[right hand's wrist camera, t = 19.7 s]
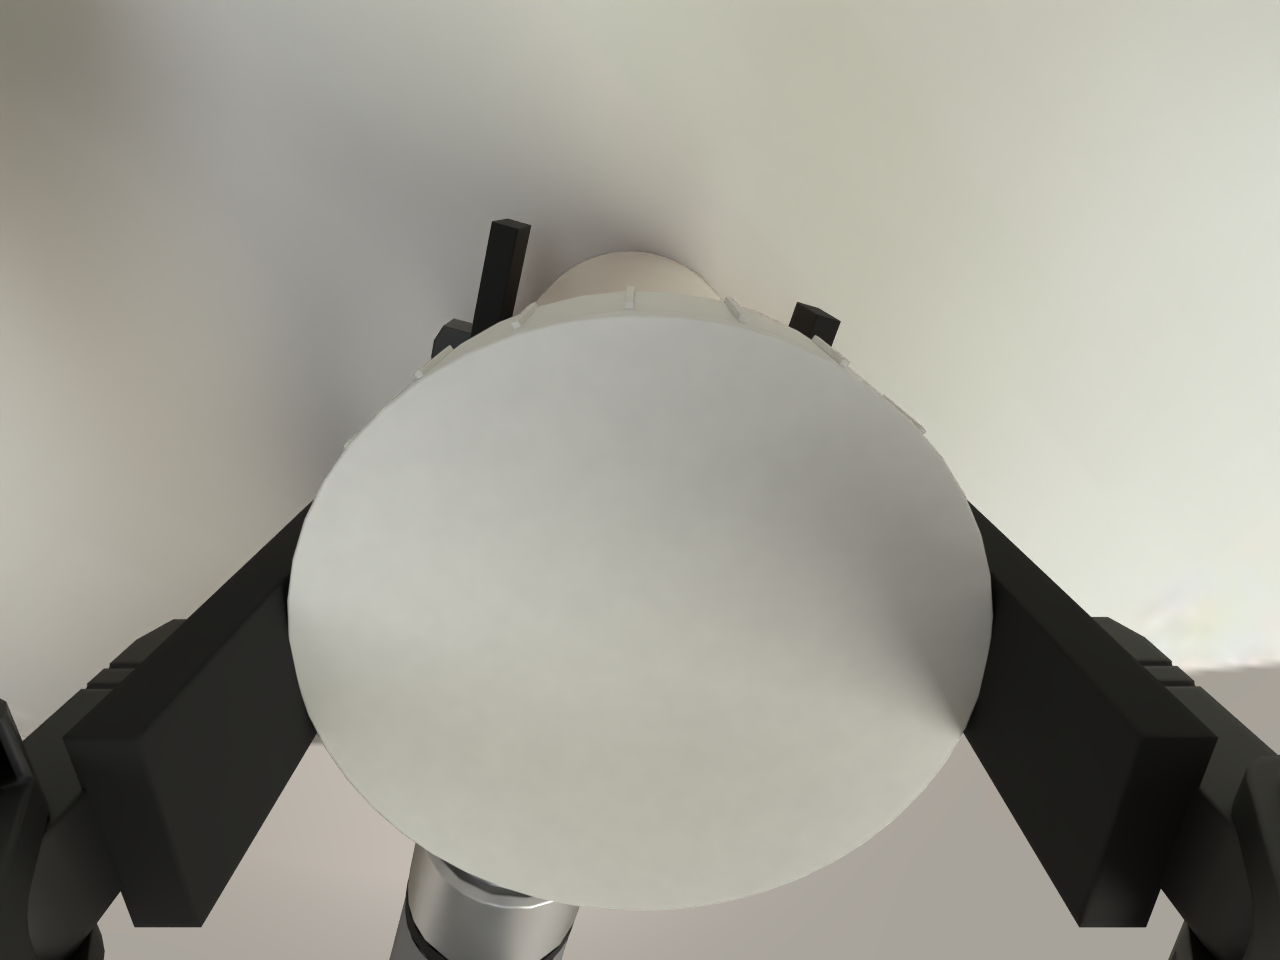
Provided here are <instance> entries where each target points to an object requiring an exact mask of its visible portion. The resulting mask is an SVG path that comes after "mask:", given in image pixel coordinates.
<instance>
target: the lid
mask: <svg viewBox="0 0 1280 960" xmlns="http://www.w3.org/2000/svg"><path fill="white" fill-rule="evenodd" d="M849 363H850V362H849V361H848V360H847V359H845V358H844V357H843V356H842V355H840V354H839V353H838V352H837V351H835V350H834V349H833V348H832V347H831V346H829V345H828V344H827V343H826V342H824V341H823V340H822V339H821V338H819V337H818V336H816V335H815V336H814V337H813V339H812V340H811V339H809V338H808V337H806V336H805V335H803V334H802V333H800V332H799V331H797V330H795V329H793V328H791V327H789V326H786V325H784V324H782V323H780V322H778V321H776V320H774V319H771V318H769V317H767V316H765V315H763V314H761V313H758V312H756V311H752V310H749V309H746V308H742V307H740V306H739V305H738V304H737V303H736V302H735V300H734V299H733V298H729V297H726V299H725V302H723V301H720V300H716V299H711V298H705V297H698V296H692V295H686V294H680V293H674V292H648V291H634V286H627V288H626V291H621V292H612V293H603V294H593V295H584V296H579V297H575V298H571V299H567V300H563V301H559V302H555V303H551V304H547V305H543V306H539V307H537V304H536V302H534V303H531V304H529V305H528V306H527V307H526V308H525V309H524V310H523V311H522V312H521V313H520V314H519V315H516V316H514V317H511V318H509V319H506V320H504V321H501V322H499V323H497V324H495V325H493V326H492V327H490V328H488V329H486V330H485V331H483V332H481V333H479V334H478V335H476V336H474V337H472V338H471V339H469V340H467V341H465V342H464V343H462V344H460V345H459V346H458V347H457V348H455V349H453V348H452V347H451V346H450V345H449V346H448V347H446V348H445V349H444V350H443V351H441V352H440V353H439V354H438V355H436V356H435V357H434V358H433V359H431V360H430V361H429V362H428V363H427V364H425V365H424V366H423V367H422V368H420V369H419V370H418V371H417V372H415V373H414V376H415V377H416V378H417V379H416V380H415V381H414V382H413V383H412V384H411V385H409V386H408V387H407V388H406V389H405V390H403V391H402V392H401V393H400V394H399V395H398V396H396V397H395V398H394V399H393V400H392V401H391V402H389V403H388V404H387V405H386V406H385V407H383V408H382V409H381V410H380V411H379V412H378V413H377V414H376V415H375V417H374V418H373V419H372V420H371V421H370V422H369V423H368V424H367V425H366V426H364V427H363V428H362V429H361V430H360V431H359V432H357V433H356V434H355V435H354V436H353V437H352V438H350V439H349V440H348V441H347V442H346V443H345V445H344V446H343V447H344V448H345V450H344V451H343V453H342V454H341V456H340V457H339V459H338V460H337V461H336V463H335V464H334V466H333V467H332V469H331V470H330V472H329V473H328V474H327V476H326V477H325V479H324V480H323V482H322V484H321V486H320V488H319V491H318V493H317V495H316V497H315V499H314V501H313V503H312V505H311V507H310V509H309V511H308V513H307V515H306V517H305V520H304V523H303V526H302V530H301V533H300V536H299V540H298V543H297V547H296V550H295V553H294V557H293V560H292V568H291V576H290V584H289V591H288V599H287V606H288V635H289V641H290V646H291V651H292V655H293V660H294V665H295V670H296V674H297V679H298V683H299V687H300V691H301V695H302V698H303V701H304V704H305V707H306V710H307V713H308V715H309V717H310V719H311V721H312V723H313V725H314V727H315V729H316V731H317V733H318V735H319V737H320V739H321V741H322V743H323V744H324V746H325V748H326V750H327V751H328V753H329V754H330V755H331V757H332V758H333V760H334V761H335V763H336V764H337V766H338V767H339V768H340V770H341V771H342V773H343V774H344V776H345V777H346V778H347V780H348V781H349V782H350V783H351V784H352V785H353V786H354V788H355V789H356V790H357V791H358V792H359V793H360V794H361V795H362V796H363V797H364V799H365V800H366V801H367V802H368V803H369V804H370V805H371V806H372V807H373V808H374V809H375V810H376V811H377V812H378V813H379V814H381V815H382V816H383V817H384V818H385V819H386V820H388V821H389V822H390V823H391V824H392V825H393V826H394V827H396V828H397V829H398V830H399V831H400V832H401V833H403V834H404V835H406V836H407V837H409V838H410V839H412V840H413V841H414V842H416V843H417V844H419V845H420V846H422V847H423V848H425V849H426V850H427V851H429V852H430V853H432V854H433V855H435V856H437V857H439V858H441V859H443V860H444V861H446V862H448V863H450V864H452V865H454V866H456V867H457V868H459V869H461V870H463V871H465V872H467V873H469V874H472V875H474V876H476V877H479V878H481V879H484V880H486V881H488V882H491V883H493V884H496V885H498V886H500V887H503V888H507V889H510V890H513V891H516V892H520V893H523V894H526V895H529V896H533V897H536V898H540V899H545V900H550V901H554V902H559V903H564V904H569V905H574V906H582V907H591V908H600V909H609V910H645V911H653V910H667V909H680V908H692V907H698V906H703V905H709V904H715V903H721V902H727V901H731V900H735V899H739V898H742V897H746V896H750V895H754V894H757V893H761V892H765V891H768V890H770V889H773V888H775V887H778V886H781V885H784V884H786V883H789V882H791V881H794V880H797V879H800V878H802V877H804V876H806V875H808V874H810V873H812V872H814V871H816V870H818V869H820V868H822V867H824V866H826V865H828V864H830V863H832V862H834V861H836V860H838V859H839V858H841V857H842V856H844V855H846V854H847V853H849V852H850V851H852V850H853V849H855V848H857V847H858V846H860V845H861V844H863V843H865V842H866V841H868V840H869V839H870V838H871V837H873V836H874V835H875V834H876V833H878V832H879V831H880V830H881V829H883V828H884V827H885V826H886V825H888V824H889V823H890V822H891V821H893V820H894V819H895V818H896V817H898V816H899V815H900V814H901V813H902V812H903V811H904V810H905V809H906V807H908V806H909V805H910V804H911V802H912V801H913V800H914V799H915V798H916V797H917V796H918V795H919V794H920V793H921V792H922V791H923V790H924V789H925V788H926V786H927V785H928V784H929V783H930V781H931V780H932V779H933V777H934V776H935V775H936V774H937V772H938V771H939V770H940V768H941V767H942V766H943V765H944V763H945V762H946V761H947V759H948V757H949V756H950V754H951V752H952V751H953V749H954V747H955V745H956V744H957V742H958V740H959V739H960V737H961V735H962V733H963V732H964V730H965V728H966V726H967V724H968V721H969V719H970V716H971V714H972V711H973V709H974V707H975V704H976V702H977V699H978V696H979V692H980V688H981V683H982V679H983V674H984V670H985V666H986V661H987V657H988V651H989V646H990V641H991V634H992V623H993V607H992V592H991V576H990V571H989V567H988V562H987V558H986V554H985V549H984V545H983V541H982V536H981V533H980V531H979V528H978V526H977V523H976V521H975V518H974V516H973V514H972V511H971V509H970V506H969V504H968V501H967V499H966V496H965V494H964V493H963V491H962V489H961V488H960V486H959V484H958V483H957V481H956V479H955V478H954V476H953V475H952V473H951V471H950V470H949V468H948V466H947V465H946V463H945V461H944V460H943V458H942V457H941V455H940V454H939V453H938V452H937V451H936V449H935V448H934V447H933V446H932V445H931V444H930V442H929V441H928V440H927V439H926V438H925V436H924V435H923V434H924V433H925V432H926V431H925V429H924V428H923V427H922V426H921V425H920V424H919V423H917V422H916V421H915V420H914V419H912V418H911V417H910V416H909V415H908V414H906V413H905V412H904V411H903V410H902V409H900V408H899V407H898V406H897V405H896V404H894V403H893V402H892V401H891V400H890V399H888V398H887V397H886V396H885V395H881V394H880V393H879V392H878V391H877V390H875V389H874V388H873V387H872V386H871V385H869V384H868V383H867V382H866V381H865V380H863V379H862V378H861V377H860V376H859V375H858V374H856V373H855V372H854V371H853V370H852V369H850V368H849V367H848V364H849Z"/></svg>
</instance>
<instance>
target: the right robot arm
mask: <svg viewBox="0 0 1280 960" xmlns="http://www.w3.org/2000/svg"><path fill="white" fill-rule="evenodd" d="M313 501H314V500H313ZM313 501H312V502H311V503H310V504H309V505H307V506H306V507H305V508H304V509H303V510H302V511H301V512H300V513H299V514H298V515H297V516H296V517H295V518H294V519H293V520H292V521H291V522H289V523H288V524H287V525H286V526H285V527H284V528H283V529H282V530H281V531H280V532H279V533H278V534H277V535H276V536H275V537H274V538H273V539H271V540H270V541H269V542H268V543H267V544H266V545H265V546H264V547H263V548H262V549H261V550H260V551H259V552H258V553H257V554H256V555H255V556H253V557H252V558H251V559H250V560H249V561H248V562H247V563H246V564H245V565H244V566H243V567H242V568H241V569H240V570H239V571H238V572H237V573H235V574H234V575H233V576H232V577H231V578H230V579H229V580H228V581H227V582H226V583H225V584H224V585H223V586H222V587H221V588H220V589H219V590H218V591H216V592H215V593H214V594H213V595H212V596H211V597H210V598H209V599H208V600H207V601H206V602H205V603H204V604H203V605H202V606H201V607H200V608H198V609H197V610H196V611H195V612H194V613H193V614H192V615H191V616H190V617H189V618H188V619H173V620H171V621H170V622H168V623H166V624H164V625H162V626H161V627H159V628H157V629H155V630H153V631H152V632H150V633H148V634H146V635H144V636H142V637H141V638H139V639H137V640H136V641H135V642H133V643H132V644H131V645H130V646H129V647H128V648H127V649H126V650H125V651H123V652H122V653H121V654H120V655H119V656H118V657H117V658H116V659H114V660H113V661H112V662H111V663H110V667H109V669H103V670H102V671H101V672H100V673H99V674H98V675H96V676H95V677H94V678H93V679H92V680H91V681H90V682H89V683H87V688H86V689H81V690H80V691H78V692H77V693H76V694H75V695H74V696H73V697H72V698H71V699H70V700H68V701H67V702H66V703H65V704H64V705H63V706H62V707H61V708H59V709H58V710H57V711H56V712H55V713H54V714H53V715H52V716H50V717H49V718H48V719H47V720H46V721H45V722H44V723H43V724H41V725H40V726H39V727H38V728H37V729H36V730H35V731H34V732H32V733H31V734H30V735H29V736H28V737H27V738H26V739H25V740H23V741H22V739H21V737H20V734H19V732H18V730H17V727H16V725H15V722H14V720H13V717H12V715H11V712H10V710H9V707H8V705H7V703H6V701H4V700H2V699H0V960H104V952H105V951H104V945H103V940H102V935H101V933H100V930H99V928H98V925H97V922H98V921H99V919H100V918H101V917H102V915H103V914H104V913H105V911H106V910H107V909H108V907H109V906H110V904H111V903H112V902H113V900H114V899H115V898H116V896H117V895H118V894H119V892H120V891H121V893H122V896H123V898H124V901H125V903H126V906H127V909H128V911H129V914H130V917H131V919H132V922H133V924H134V927H202V925H203V923H204V922H205V920H206V918H207V917H208V915H209V913H210V911H211V910H212V908H213V906H214V905H215V903H216V901H217V900H218V898H219V896H220V895H221V893H222V891H223V890H224V888H225V886H226V885H227V883H228V881H229V880H230V878H231V876H232V875H233V873H234V871H235V870H236V868H237V866H238V865H239V863H240V861H241V860H242V858H243V856H244V854H245V853H246V851H247V849H248V848H249V846H250V844H251V843H252V841H253V839H254V838H255V836H256V834H257V833H258V831H259V829H260V828H261V826H262V824H263V823H264V821H265V819H266V818H267V816H268V814H269V813H270V811H271V809H272V807H273V806H274V804H275V802H276V801H277V799H278V797H279V796H280V794H281V792H282V791H283V789H284V787H285V786H286V784H287V782H288V781H289V779H290V777H291V775H292V774H293V772H294V771H295V769H296V767H297V766H298V764H299V762H300V761H301V759H302V757H303V756H304V754H305V752H306V750H307V749H308V747H309V745H310V744H311V742H312V740H313V739H314V737H315V735H316V734H317V731H316V729H315V727H314V725H313V723H312V721H311V719H310V717H309V715H308V713H307V710H306V707H305V704H304V701H303V698H302V695H301V691H300V687H299V683H298V679H297V674H296V670H295V665H294V660H293V655H292V651H291V646H290V641H289V635H288V606H287V599H288V591H289V584H290V576H291V568H292V560H293V557H294V553H295V550H296V547H297V543H298V540H299V536H300V533H301V530H302V526H303V523H304V520H305V517H306V515H307V513H308V511H309V509H310V507H311V505H312V503H313ZM967 501H968V500H967ZM968 504H969V506H970V509H971V511H972V514H973V516H974V518H975V521H976V523H977V526H978V528H979V531H980V533H981V536H982V541H983V545H984V549H985V554H986V558H987V562H988V567H989V571H990V576H991V592H992V607H993V623H992V634H991V641H990V646H989V651H988V657H987V661H986V666H985V670H984V674H983V679H982V683H981V688H980V692H979V696H978V699H977V702H976V704H975V707H974V709H973V711H972V714H971V716H970V719H969V721H968V724H967V726H966V728H965V730H964V732H963V733H964V735H965V736H966V738H967V740H968V741H969V743H970V745H971V746H972V748H973V750H974V751H975V753H976V755H977V756H978V758H979V760H980V761H981V763H982V765H983V766H984V768H985V770H986V771H987V773H988V775H989V777H990V778H991V780H992V781H993V783H994V785H995V787H996V788H997V790H998V792H999V793H1000V795H1001V797H1002V798H1003V800H1004V802H1005V803H1006V805H1007V807H1008V808H1009V810H1010V812H1011V813H1012V815H1013V817H1014V818H1015V820H1016V822H1017V824H1018V825H1019V827H1020V829H1021V830H1022V832H1023V834H1024V835H1025V837H1026V839H1027V840H1028V842H1029V844H1030V845H1031V847H1032V849H1033V850H1034V852H1035V854H1036V855H1037V857H1038V859H1039V860H1040V862H1041V864H1042V865H1043V867H1044V869H1045V870H1046V872H1047V874H1048V875H1049V877H1050V879H1051V881H1052V882H1053V884H1054V886H1055V887H1056V889H1057V891H1058V892H1059V894H1060V896H1061V897H1062V899H1063V901H1064V902H1065V904H1066V906H1067V907H1068V909H1069V911H1070V912H1071V914H1072V916H1073V917H1074V919H1075V921H1076V922H1077V924H1078V926H1079V927H1146V926H1147V923H1148V921H1149V918H1150V915H1151V913H1152V910H1153V908H1154V905H1155V902H1156V900H1157V897H1158V895H1159V892H1160V889H1162V890H1163V892H1164V893H1165V894H1166V896H1167V897H1168V898H1169V900H1170V901H1171V903H1172V904H1173V905H1174V907H1175V908H1176V909H1177V911H1178V912H1179V913H1180V915H1181V916H1182V917H1183V919H1184V923H1183V925H1182V928H1181V930H1180V932H1179V935H1178V937H1177V940H1176V942H1175V945H1174V947H1173V950H1172V952H1171V954H1170V957H1169V959H1168V960H1280V755H1277V754H1276V753H1275V752H1274V751H1273V750H1272V749H1270V748H1269V747H1268V746H1267V745H1266V744H1265V743H1264V742H1263V741H1261V740H1260V739H1259V738H1258V737H1257V736H1256V735H1255V734H1253V733H1252V732H1251V731H1250V730H1249V729H1248V728H1247V727H1246V726H1244V725H1243V724H1242V723H1241V722H1240V721H1239V720H1238V719H1237V718H1235V717H1234V716H1233V715H1232V714H1231V713H1230V712H1229V711H1227V710H1226V709H1225V708H1224V707H1223V706H1222V705H1221V704H1220V703H1218V702H1217V701H1216V700H1215V699H1214V698H1213V697H1212V696H1211V695H1209V694H1208V693H1207V692H1206V691H1205V690H1204V689H1203V688H1201V687H1200V686H1195V684H1194V680H1192V679H1191V678H1190V677H1189V676H1188V675H1187V674H1186V673H1185V672H1183V671H1182V670H1181V669H1180V668H1179V667H1178V666H1172V661H1171V660H1170V659H1169V658H1168V657H1166V656H1165V655H1164V654H1163V653H1162V652H1161V651H1160V650H1159V649H1157V648H1156V647H1155V646H1154V645H1153V644H1152V643H1151V642H1149V641H1148V640H1147V639H1146V638H1145V637H1143V636H1141V635H1140V634H1138V633H1136V632H1134V631H1132V630H1130V629H1129V628H1127V627H1125V626H1123V625H1121V624H1120V623H1118V622H1116V621H1114V620H1112V619H1110V618H1109V617H1091V616H1089V615H1088V614H1087V613H1086V612H1085V611H1084V610H1083V609H1082V608H1081V607H1080V606H1079V605H1078V604H1077V603H1076V602H1075V601H1074V600H1073V599H1071V598H1070V597H1069V596H1068V595H1067V594H1066V593H1065V592H1064V591H1063V590H1062V589H1061V588H1060V587H1059V586H1058V585H1057V584H1056V583H1055V582H1053V581H1052V580H1051V579H1050V578H1049V577H1048V576H1047V575H1046V574H1045V573H1044V572H1043V571H1042V570H1041V569H1040V568H1039V567H1038V566H1037V565H1035V564H1034V563H1033V562H1032V561H1031V560H1030V559H1029V558H1028V557H1027V556H1026V555H1025V554H1024V553H1023V552H1022V551H1021V550H1020V549H1019V548H1017V547H1016V546H1015V545H1014V544H1013V543H1012V542H1011V541H1010V540H1009V539H1008V538H1007V537H1006V536H1005V535H1004V534H1003V533H1002V532H1001V531H999V530H998V529H997V528H996V527H995V526H994V525H993V524H992V523H991V522H990V521H989V520H988V519H987V518H986V517H985V516H984V515H983V514H981V513H980V512H979V511H978V510H977V509H976V508H975V507H974V506H973V505H972V504H971V503H970V502H969V501H968Z"/></svg>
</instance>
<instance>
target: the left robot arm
mask: <svg viewBox="0 0 1280 960" xmlns="http://www.w3.org/2000/svg"><path fill="white" fill-rule="evenodd" d="M530 229H531V225H528V224H525V223H521V222H518V221H514V220H511V219H503V220H497V221H492V224H491V230H490V235H489V240H488V245H487V251H486V256H485V261H484V267H483V272H482V277H481V283H480V288H479V293H478V299H477V304H476V309H475V314H474V320H473V324H472V323H468V322H465V321H461V320H457V319H453V320H451V321H450V322H448V323H447V324H446V325H444V326H443V327H442V329H441V330H440V332H439V333H438V335H437V337H436V338H435V340H434V344H433V350H432V355H431V359H433V358H434V357H435V356H436V355H438V354H439V353H440V352H441V351H443V350H444V349H445V348H446V347H448V346H449V345H450V346H451V347H452V348H453V349H455V348H457V347H458V346H459V345H460V344H462V343H464V342H465V341H467V340H469V339H471V338H472V337H474V336H476V335H478V334H479V333H481V332H483V331H485V330H486V329H488V328H490V327H492V326H493V325H495V324H497V323H499V322H501V321H504V320H506V319H509V318H511V317H512V315H513V310H514V306H515V301H516V296H517V291H518V286H519V281H520V277H521V272H522V267H523V262H524V257H525V253H526V248H527V243H528V238H529V233H530ZM840 322H841V321H839V320H838V319H836V318H834V317H833V316H831V315H829V314H828V313H826V312H824V311H823V310H821V309H819V308H816V307H813V306H809V305H806V304H803V303H799V302H797V304H796V307H795V310H794V312H793V315H792V318H791V321H790V324H789V327H791V328H793V329H795V330H797V331H799V332H800V333H802V334H803V335H805V336H806V337H808V338H809V339H811V340H812V339H813V337H814V336H815V335H816V336H818V337H819V338H821V339H822V340H823V341H824V342H826V343H827V344H828V345H829V346H832V343H833V341H834V338H835V335H836V333H837V330H838V327H839V325H840ZM579 907H580V906H574V905H569V904H564V903H559V902H554V901H550V900H545V899H540V898H536V897H533V896H529V895H526V894H523V893H520V892H516V891H513V890H510V889H507V888H503V887H500V886H498V885H496V884H493V883H491V882H488V881H486V880H484V879H481V878H479V877H476V876H474V875H472V874H469V873H467V872H465V871H463V870H461V869H459V868H457V867H456V866H454V865H452V864H450V863H448V862H446V861H444V860H443V859H441V858H439V857H437V856H435V855H433V854H432V853H430V852H429V851H427V850H426V849H425V848H423V847H422V846H420V845H419V844H417V843H416V844H415V849H414V854H413V858H412V863H411V868H410V875H409V879H408V883H407V890H406V898H405V902H404V905H403V909H402V913H401V917H400V921H399V925H398V929H397V933H396V936H395V941H394V945H393V948H392V952H391V956H390V959H389V960H561V959H562V956H563V953H564V949H565V946H566V943H567V940H568V937H569V934H570V932H571V929H572V926H573V923H574V920H575V917H576V915H577V912H578V909H579Z"/></svg>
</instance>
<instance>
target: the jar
mask: <svg viewBox="0 0 1280 960" xmlns="http://www.w3.org/2000/svg"><path fill="white" fill-rule="evenodd" d="M627 286H634V291H648V292H674V293H680V294H686V295H692V296H698V297H705V298H711V299H716V300H720V301H722V300H721V298H720V297H719V296H718V295H717V294H716V293H715V292H714V290H713V289H712V288H711V287H710V286H709V285H708V284H707V283H706V282H705V281H704V280H703V279H702V278H701V277H700V276H698V275H697V274H696V273H695V272H693V271H692V270H690V269H689V268H687V267H685V266H684V265H682V264H680V263H678V262H676V261H674V260H672V259H669V258H666V257H663V256H660V255H657V254H652V253H646V252H637V251H622V252H613V253H608V254H604V255H600V256H596V257H593V258H591V259H588V260H586V261H583V262H581V263H580V264H578V265H576V266H574V267H573V268H571V269H569V270H568V271H567V272H565V273H564V274H563V275H561V276H560V277H559V278H557V279H556V281H555V282H554V283H553V284H552V285H551V286H550V287H549V288H548V289H547V290H546V291H545V292H544V293H543V294H542V295H541V296H540V297H539V298H538V299H537V301H536V304H537V307H539V306H543V305H547V304H551V303H555V302H559V301H563V300H567V299H571V298H575V297H579V296H584V295H593V294H603V293H612V292H621V291H626V288H627Z"/></svg>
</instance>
